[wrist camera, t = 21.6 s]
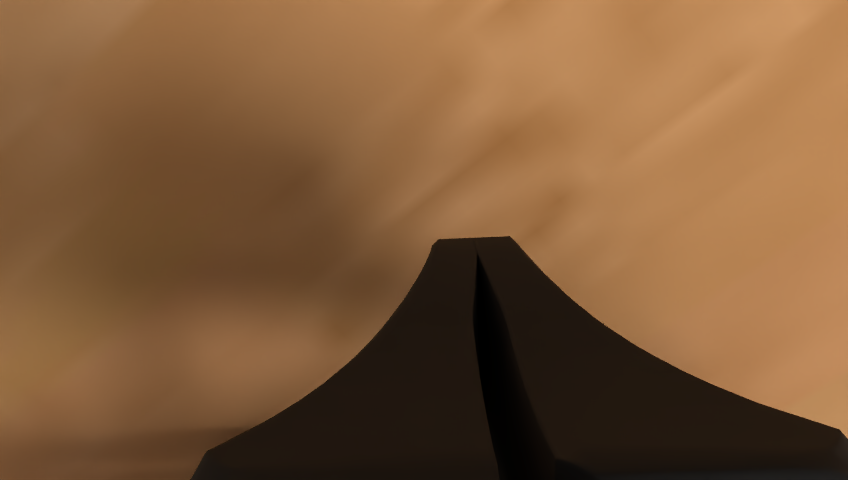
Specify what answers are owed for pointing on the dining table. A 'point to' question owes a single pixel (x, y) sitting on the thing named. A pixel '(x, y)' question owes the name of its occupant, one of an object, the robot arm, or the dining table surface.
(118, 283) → the dining table surface
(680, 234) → the dining table surface
